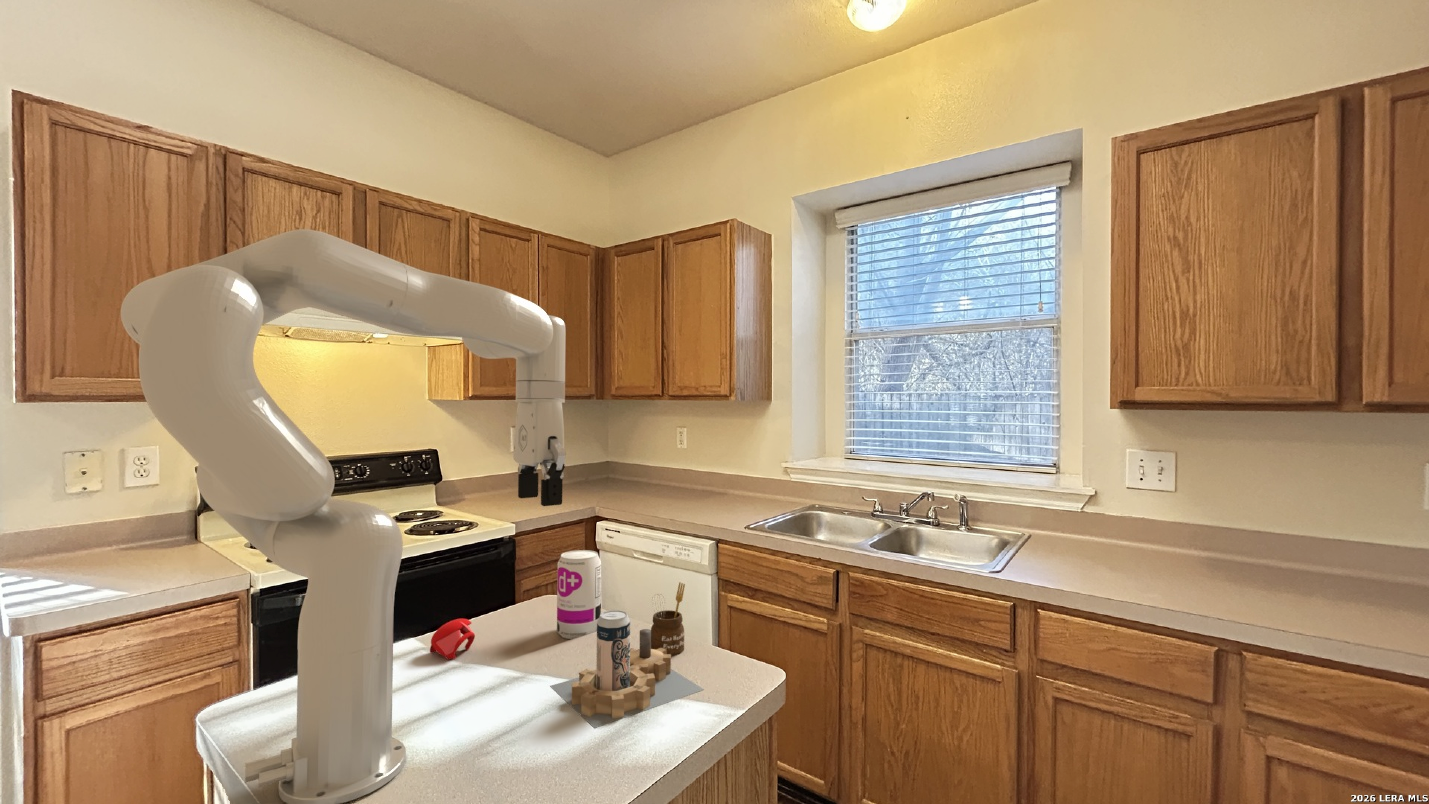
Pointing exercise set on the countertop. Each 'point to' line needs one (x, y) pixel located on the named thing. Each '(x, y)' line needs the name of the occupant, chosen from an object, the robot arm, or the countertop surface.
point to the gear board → (664, 693)
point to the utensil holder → (668, 628)
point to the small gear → (651, 657)
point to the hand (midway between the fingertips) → (539, 501)
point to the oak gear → (613, 694)
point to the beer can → (613, 651)
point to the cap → (452, 638)
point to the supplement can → (578, 593)
